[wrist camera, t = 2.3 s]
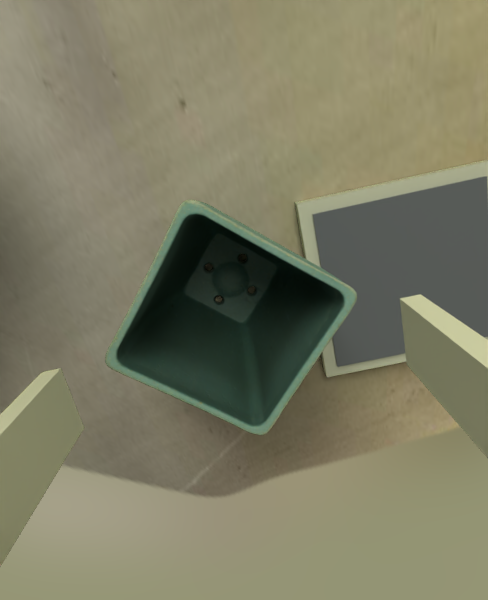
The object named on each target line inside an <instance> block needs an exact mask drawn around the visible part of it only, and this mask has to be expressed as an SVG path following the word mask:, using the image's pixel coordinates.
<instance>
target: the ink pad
mask: <svg viewBox="0 0 488 600" xmlns="http://www.w3.org/2000/svg"><path fill="white" fill-rule="evenodd" d="M295 207H296V213H297V219H298V225H299V230H300V236H301V242H302V248H303V253H304V259H306V260H308V261H310V262H312V263H314V264H315V265H317V266H319V267H321V268H322V269H324V270H325V271H327V272H329V273H330V274H332V275H333V276H335V277H336V278H338V279H339V280H341V281H342V282H344V283H345V284H347V285H349V286H350V287H352V288H353V289H354V290H355V292H356V293H357V300H356V303H355V305H354V306H353V308H352V310H351V312H350V313H349V314H348V316H347V317H346V319H345V320H344V322H343V323H342V325H341V326H340V327H339V329H338V330H337V331H336V333H335V334H334V336H333V337H332V339H331V340H330V342H329V343H328V345H327V346H326V348H325V349H324V351H323V352H322V353H321V357H322V363H323V369H324V372H325V374H326V377H332V376H337V375H342V374H347V373H352V372H357V371H362V370H367V369H372V368H376V367H381V366H386V365H391V364H396V363H401V362H406V353H405V344H404V334H403V325H402V315H401V306H400V298H405V297H410V296H414V295H419V294H421V295H422V296H424V297H425V298H427V299H428V300H430V301H431V302H433V303H434V304H436V305H437V306H439V307H440V308H441V309H443V310H444V311H446V312H447V313H449V314H450V315H452V316H453V317H455V318H456V319H458V320H459V321H461V322H462V323H464V324H465V325H466V326H468V327H469V328H471V329H472V330H474V331H475V332H477V333H478V334H480V335H481V336H483V337H484V338H486V339H487V340H488V160H483V161H479V162H474V163H470V164H465V165H461V166H456V167H452V168H447V169H443V170H438V171H434V172H429V173H425V174H420V175H416V176H411V177H407V178H402V179H398V180H393V181H389V182H384V183H380V184H375V185H371V186H366V187H362V188H357V189H353V190H348V191H344V192H339V193H335V194H330V195H326V196H321V197H317V198H312V199H308V200H303V201H299V202H295Z"/></svg>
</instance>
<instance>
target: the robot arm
mask: <svg viewBox="0 0 488 600" xmlns="http://www.w3.org/2000/svg"><path fill="white" fill-rule="evenodd" d="M400 306H401V315H402V325H403V334H404V344H405V353H406V362H407V365H408V367H409V368H410V369H411V370H412V371H413V372H414V374H415V375H416V376H417V377H418V378H419V379H420V381H421V382H422V383H423V384H424V385H425V386H426V387H427V389H428V390H429V391H430V392H431V393H432V394H433V396H434V397H435V398H436V399H437V400H438V401H439V402H440V404H441V405H442V406H443V407H444V408H445V409H446V411H447V412H448V413H449V414H450V415H451V416H452V418H453V419H454V420H455V421H456V422H457V423H458V424H459V426H460V427H461V428H462V429H463V430H464V431H465V433H466V434H467V435H468V436H469V437H470V438H471V439H472V441H473V442H474V443H475V444H476V445H477V446H478V447H479V449H480V450H481V451H482V452H483V453H484V454H485V456H486V457H487V458H488V340H487V339H486V338H484V337H483V336H481V335H480V334H478V333H477V332H475V331H474V330H472V329H471V328H469V327H468V326H466V325H465V324H464V323H462V322H461V321H459V320H458V319H456V318H455V317H453V316H452V315H450V314H449V313H447V312H446V311H444V310H443V309H441V308H440V307H439V306H437V305H436V304H434V303H433V302H431V301H430V300H428V299H427V298H425V297H424V296H422V295H421V294H419V295H414V296H410V297H405V298H400ZM83 429H84V426H83V424H82V421H81V418H80V416H79V413H78V411H77V408H76V406H75V403H74V401H73V398H72V395H71V393H70V390H69V388H68V385H67V383H66V380H65V378H64V375H63V372H62V370H61V368H60V369H55V370H50V371H45V372H42V373H41V374H40V375H39V376H38V377H37V378H36V379H35V380H34V381H33V382H32V383H31V384H30V385H29V386H28V387H27V388H26V389H25V390H24V391H23V392H22V393H21V394H20V395H19V396H18V397H17V398H16V399H15V400H14V401H13V402H12V403H11V404H10V405H9V406H8V407H7V408H6V409H5V410H4V411H3V412H2V413H1V414H0V566H1V565H2V563H3V561H4V560H5V558H6V557H7V555H8V553H9V552H10V550H11V548H12V546H13V545H14V543H15V542H16V540H17V538H18V537H19V535H20V533H21V532H22V530H23V528H24V526H25V525H26V524H27V522H28V520H29V519H30V517H31V515H32V514H33V512H34V510H35V509H36V507H37V505H38V504H39V502H40V500H41V499H42V497H43V495H44V494H45V492H46V490H47V489H48V487H49V485H50V484H51V482H52V480H53V479H54V477H55V476H56V474H57V472H58V470H59V469H60V467H61V466H62V464H63V462H64V461H65V459H66V457H67V456H68V454H69V452H70V451H71V449H72V447H73V446H74V444H75V442H76V441H77V439H78V438H79V436H80V434H81V433H82V431H83Z"/></svg>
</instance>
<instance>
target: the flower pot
mask: <svg viewBox="0 0 488 600" xmlns="http://www.w3.org/2000/svg"><path fill="white" fill-rule="evenodd" d="M240 254H245V255H246V257H247V259H246V260H245V261H243V262H241V261H239V259H238V257H239V255H240ZM207 263H210V264H212V266H213V269H212V270H211V271H207V270H206V269H205V265H206V264H207ZM250 286H253V287H255V292H254V293H249V292H248V288H249V287H250ZM218 295H219V296H221V297H222V298H223V300H222V302H216V301H215V297H216V296H218ZM356 300H357V293H356V292H355V290H354V289H353V288H352V287H350V286H349V285H347V284H345V283H344V282H342V281H341V280H339V279H338V278H336V277H335V276H333V275H332V274H330V273H329V272H327V271H325V270H324V269H322V268H321V267H319V266H317V265H315V264H314V263H312V262H310V261H308V260H306V259H304V258H303V257H301V256H299V255H297V254H295V253H294V252H292V251H290V250H288V249H286V248H285V247H283V246H281V245H279V244H278V243H276V242H274V241H272V240H270V239H269V238H267V237H265V236H263V235H262V234H260V233H258V232H256V231H254V230H253V229H251V228H249V227H247V226H246V225H244V224H242V223H240V222H238V221H237V220H235V219H233V218H231V217H230V216H228V215H226V214H224V213H222V212H221V211H219V210H217V209H216V208H214V207H212V206H210V205H208V204H206V203H203V202H199V201H195V200H186V201H184V202H183V203H182V204H181V205H180V207H179V209H178V211H177V213H176V214H175V216H174V218H173V221H172V223H171V225H170V227H169V229H168V231H167V234H166V236H165V238H164V240H163V242H162V244H161V246H160V248H159V251H158V253H157V254H156V257H155V259H154V261H153V263H152V265H151V267H150V269H149V271H148V273H147V275H146V277H145V279H144V281H143V283H142V285H141V287H140V289H139V291H138V293H137V295H136V297H135V299H134V301H133V303H132V305H131V307H130V309H129V311H128V313H127V315H126V317H125V319H124V320H123V322H122V324H121V326H120V328H119V330H118V332H117V334H116V336H115V337H114V339H113V341H112V343H111V345H110V346H109V348H108V351H107V353H106V357H105V358H106V359H105V362H106V364H107V366H108V367H110V368H111V369H113V370H115V371H117V372H119V373H121V374H123V375H125V376H128V377H131V378H132V379H135V380H137V381H139V382H141V383H143V384H146V385H148V386H150V387H152V388H155V389H157V390H160V391H162V392H164V393H166V394H169V395H171V396H173V397H175V398H177V399H180V400H181V401H183V402H186V403H188V404H191V405H193V406H195V407H197V408H199V409H202V410H204V411H206V412H208V413H210V414H212V415H214V416H216V417H218V418H220V419H222V420H225V421H227V422H229V423H231V424H233V425H235V426H237V427H239V428H241V429H243V430H245V431H247V432H249V433H252V434H257V435H264V434H266V433H268V431H269V430H270V429H271V428H272V426H273V425H274V424H275V422H276V420H277V419H278V417H279V416H280V414H281V413H282V411H283V409H284V408H285V407H286V405H287V404H288V402H289V400H290V399H291V397H292V396H293V395H294V393H295V392H296V390H297V389H298V387H299V386H300V384H301V383H302V381H303V380H304V378H305V377H306V375H307V374H308V372H309V371H310V370H311V368H312V366H313V365H314V364H315V362H316V361H317V359H318V358H319V356H320V355H321V353H322V352H323V351H324V349H325V348H326V346H327V345H328V343H329V342H330V340H331V339H332V337H333V336H334V334H335V333H336V331H337V330H338V329H339V327H340V326H341V325H342V323H343V322H344V320H345V319H346V317H347V316H348V314H349V313H350V312H351V310H352V308H353V306H354V305H355V303H356Z"/></svg>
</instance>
